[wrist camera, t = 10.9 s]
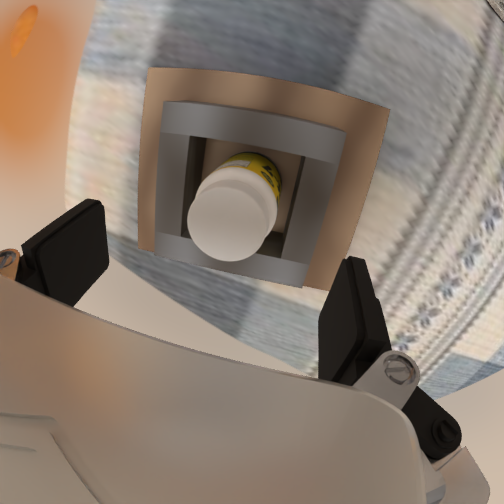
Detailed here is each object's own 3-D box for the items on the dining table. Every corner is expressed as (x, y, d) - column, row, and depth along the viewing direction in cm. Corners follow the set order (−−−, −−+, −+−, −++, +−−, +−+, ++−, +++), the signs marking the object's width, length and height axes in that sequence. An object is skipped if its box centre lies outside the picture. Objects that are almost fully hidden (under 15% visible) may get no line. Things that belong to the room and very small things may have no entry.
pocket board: (386, 109, 18) (410, 112, 14) (331, 285, 26) (336, 322, 22) (154, 68, 19) (121, 64, 14) (143, 243, 27) (117, 271, 22)
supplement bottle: (287, 206, 22) (281, 265, 15) (227, 215, 23) (194, 273, 16) (276, 144, 20) (263, 171, 12) (213, 156, 21) (167, 190, 13)
